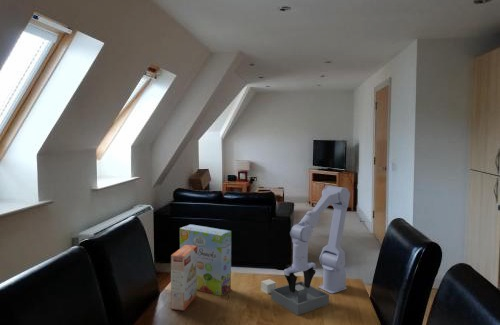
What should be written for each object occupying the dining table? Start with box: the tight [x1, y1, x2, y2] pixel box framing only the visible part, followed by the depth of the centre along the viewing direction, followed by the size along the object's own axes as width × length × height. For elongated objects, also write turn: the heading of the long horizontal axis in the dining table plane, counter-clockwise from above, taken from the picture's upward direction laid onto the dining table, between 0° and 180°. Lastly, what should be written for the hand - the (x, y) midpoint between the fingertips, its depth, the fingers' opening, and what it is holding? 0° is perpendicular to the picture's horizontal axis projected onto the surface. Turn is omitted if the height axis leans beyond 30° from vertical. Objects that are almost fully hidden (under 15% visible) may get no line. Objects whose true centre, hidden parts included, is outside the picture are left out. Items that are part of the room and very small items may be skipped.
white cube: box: [260, 278, 277, 295], centre depth 157 cm, size 4×4×4 cm
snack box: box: [179, 224, 232, 297], centre depth 158 cm, size 22×9×26 cm, turn 62°
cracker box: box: [170, 245, 198, 311], centre depth 144 cm, size 14×6×21 cm, turn 168°
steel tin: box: [290, 285, 307, 303], centre depth 147 cm, size 4×4×5 cm
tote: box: [270, 280, 330, 316], centre depth 147 cm, size 16×16×4 cm
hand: (299, 289), depth 146 cm, fingers open, 7 cm apart
